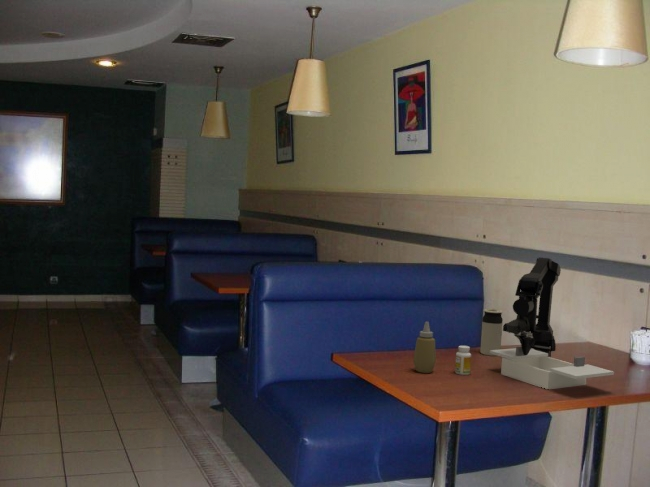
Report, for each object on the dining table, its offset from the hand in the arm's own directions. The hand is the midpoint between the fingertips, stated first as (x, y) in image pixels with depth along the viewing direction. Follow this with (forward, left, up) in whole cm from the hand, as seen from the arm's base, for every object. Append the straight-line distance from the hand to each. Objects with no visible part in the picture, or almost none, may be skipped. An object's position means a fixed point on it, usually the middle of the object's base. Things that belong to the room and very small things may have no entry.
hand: (525, 355), depth 264 cm
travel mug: (-15, -34, -8) cm, 38 cm away
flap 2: (-4, +22, -2) cm, 22 cm away
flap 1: (-4, -7, -2) cm, 8 cm away
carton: (-4, +5, -8) cm, 10 cm away
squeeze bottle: (+31, -19, -8) cm, 37 cm away
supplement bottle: (+19, -12, -8) cm, 24 cm away
